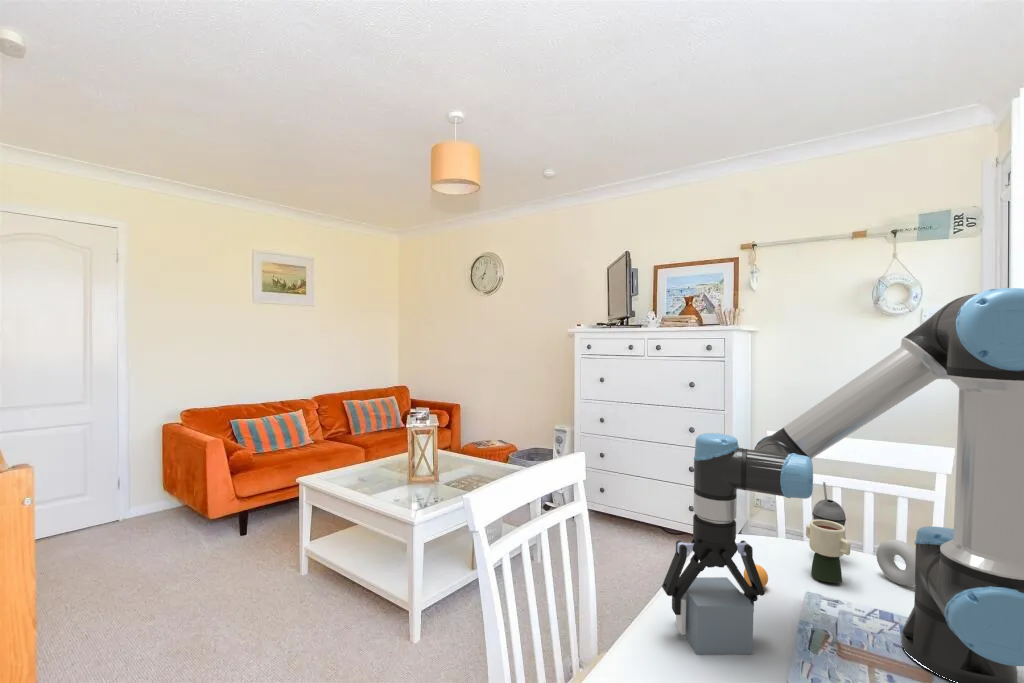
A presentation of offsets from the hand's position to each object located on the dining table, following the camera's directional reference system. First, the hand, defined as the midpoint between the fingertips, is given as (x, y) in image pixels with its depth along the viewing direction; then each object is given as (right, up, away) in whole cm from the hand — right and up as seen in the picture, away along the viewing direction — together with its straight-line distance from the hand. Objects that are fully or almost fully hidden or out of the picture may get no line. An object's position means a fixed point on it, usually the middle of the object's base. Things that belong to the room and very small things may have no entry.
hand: (712, 630), depth 92 cm
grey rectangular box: (0, -1, 0) cm, 1 cm away
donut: (+52, -2, +21) cm, 56 cm away
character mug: (+36, -1, +22) cm, 43 cm away
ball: (+18, +1, +18) cm, 26 cm away
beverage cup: (+43, -1, +32) cm, 53 cm away
